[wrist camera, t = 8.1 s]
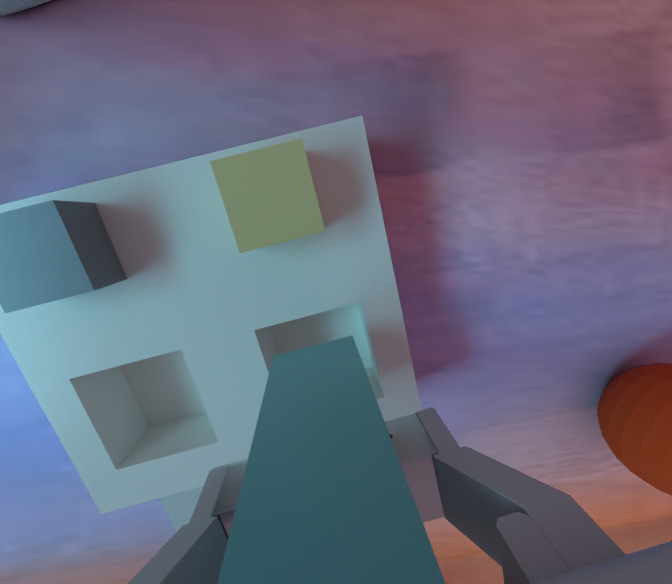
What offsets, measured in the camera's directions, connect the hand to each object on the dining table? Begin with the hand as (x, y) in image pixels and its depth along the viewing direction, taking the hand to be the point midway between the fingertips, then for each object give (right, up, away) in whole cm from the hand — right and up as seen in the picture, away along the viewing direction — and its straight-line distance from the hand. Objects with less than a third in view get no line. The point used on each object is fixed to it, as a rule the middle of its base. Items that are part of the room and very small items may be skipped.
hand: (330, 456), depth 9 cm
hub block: (-5, +3, +8) cm, 10 cm away
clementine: (+19, -2, +12) cm, 22 cm away
